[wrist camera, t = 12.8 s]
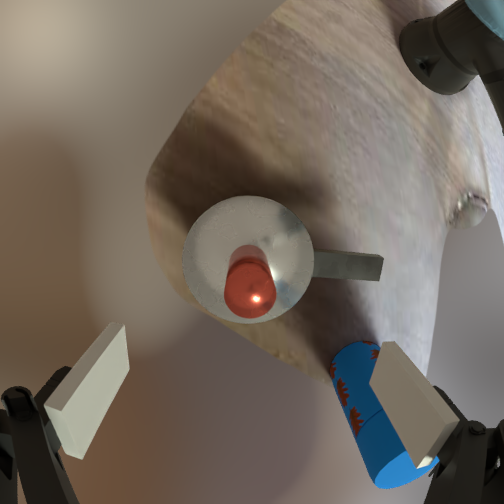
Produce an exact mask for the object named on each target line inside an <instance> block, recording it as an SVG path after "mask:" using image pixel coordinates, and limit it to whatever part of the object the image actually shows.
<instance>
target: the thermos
mask: <svg viewBox="0 0 504 504" xmlns="http://www.w3.org/2000/svg"><path fill="white" fill-rule="evenodd" d="M379 352H380V348H379V347H378V346H377V345H376V344H374V343H372V342H367V341H360V342H355V343H352V344H350V345H348V346H346V347H344V348H343V349H342V350H341V351H340V352H339V353H338V354H337V355H336V356H335V358H334V359H333V361H332V363H331V367H330V375H331V379H332V382H333V385H334V388H335V391H336V394H337V396H338V399H339V401H340V403H341V406H342V408H343V411H344V413H345V416H346V418H347V420H348V423H349V425H350V428H351V430H352V433H353V435H354V438H355V440H356V443H357V445H358V448H359V450H360V453H361V455H362V458H363V460H364V463H365V465H366V468H367V470H368V473H369V476H370V477H371V479H372V481H373V483H374V484H375V485H376V486H377V487H378V488H383V489H389V488H394V487H399V486H401V485H404V484H407V483H409V482H411V481H413V480H415V479H416V478H419V477H420V476H422V475H423V474H425V473H426V472H427V471H429V470H430V469H431V468H433V466H435V464H437V463H438V462H439V461H440V460H439V459H438V457H437V456H436V457H435V458H434V460H433V461H432V463H431V464H430V465H427V466H424V467H421V468H417V469H416V467H415V465H414V464H413V462H412V460H411V458H410V456H409V454H408V452H407V450H406V449H405V447H404V445H403V443H402V441H401V439H400V438H399V436H398V434H397V432H396V430H395V428H394V427H393V425H392V423H391V421H390V419H389V418H388V416H387V414H386V412H385V411H384V409H383V407H382V405H381V403H380V402H379V400H378V398H377V396H376V395H375V393H374V391H373V389H372V388H371V386H370V384H369V382H370V379H371V376H372V373H373V370H374V367H375V364H376V361H377V358H378V355H379Z"/></svg>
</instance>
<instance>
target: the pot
mask: <svg viewBox="0 0 504 504" xmlns="http://www.w3.org/2000/svg"><path fill="white" fill-rule="evenodd" d="M313 251H314V268H313V273H312V277H323V278H338V279H352V280H368V281H379V280H380V275H381V270H382V265H383V260H384V258H383V257H382V256H380V255H376V254H366V253H355V252H345V251H334V250H324V249H313Z"/></svg>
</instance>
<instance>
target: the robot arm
mask: <svg viewBox="0 0 504 504" xmlns="http://www.w3.org/2000/svg"><path fill="white" fill-rule="evenodd" d="M400 49H401V53H402V55H403V58H404V60H405V62H406V64H407V66H408V67H409V69H410V70H411V72H412V73H413V74H414V75H415V77H416V78H417V79H418V80H419V81H420V82H421V83H422V84H424V85H425V86H426V87H427V88H429V89H430V90H432V91H434V92H436V93H439V94H443V95H452V94H455V93H458V92H460V91H462V90H464V89H465V88H466V87H467V85H468V84H469V82H470V81H471V80H473V79H474V78H475V76H476V75H479V76H480V77H481V80H482V82H483V84H484V86H485V88H486V90H487V92H488V95H489V97H490V99H491V101H492V104H493V106H494V108H495V111H496V113H497V116H498V118H499V121H500V124H501V126H502V132H503V136H504V0H457V1H456V2H454V3H453V4H451V5H450V6H449V7H447V8H446V9H445V10H443V11H442V12H441V13H439V14H438V15H436V16H433V17H427V18H424V19H417V20H414V21H412V22H410V23H409V24H408V25H407V26H406V27H404V29H403V30H402V32H401V34H400ZM128 371H129V361H128V354H127V344H126V335H125V325H124V324H119V323H113V322H111V323H110V324H109V325H108V326H107V327H106V328H105V330H104V331H103V332H102V333H101V334H100V335H99V337H98V338H97V339H96V340H95V341H94V342H93V344H92V345H91V346H90V347H89V349H88V350H87V351H86V352H85V353H84V354H83V356H82V357H81V358H80V359H79V361H78V362H77V363H76V364H75V365H74V367H73V368H71V367H67V366H64V367H63V368H61V369H59V370H57V371H56V372H55V373H54V374H53V375H52V377H51V378H50V379H49V380H48V381H47V382H46V385H44V386H43V387H42V389H41V390H40V391H39V392H38V393H37V394H36V396H35V397H34V398H33V396H32V394H31V392H30V391H29V390H28V389H27V388H24V387H22V386H15V387H11V388H9V389H7V390H6V391H4V393H3V394H2V397H1V401H2V403H3V406H4V407H5V410H3V409H0V504H18V501H17V500H18V499H17V472H19V476H20V480H21V484H22V488H23V491H24V495H25V498H26V501H27V504H79V501H78V499H77V497H76V495H75V493H74V490H73V488H72V486H71V483H70V481H69V478H68V476H67V474H66V471H65V468H64V466H63V463H62V460H61V457H60V455H59V453H58V450H59V448H60V446H61V445H62V447H63V449H64V451H65V453H66V454H68V455H71V456H74V457H76V458H79V459H83V457H84V455H85V453H86V451H87V449H88V447H89V445H90V443H91V441H92V439H93V437H94V435H95V433H96V431H97V429H98V427H99V425H100V423H101V421H102V419H103V418H104V416H105V414H106V412H107V410H108V408H109V406H110V404H111V402H112V400H113V398H114V397H115V395H116V393H117V391H118V389H119V387H120V385H121V384H122V382H123V380H124V378H125V376H126V375H127V373H128ZM369 384H370V386H371V388H372V389H373V391H374V393H375V395H376V396H377V398H378V400H379V402H380V403H381V405H382V407H383V409H384V411H385V412H386V414H387V416H388V418H389V419H390V421H391V423H392V425H393V427H394V428H395V430H396V432H397V434H398V436H399V438H400V439H401V441H402V443H403V445H404V447H405V449H406V450H407V452H408V454H409V456H410V458H411V460H412V462H413V464H414V465H415V467H416V469H417V468H421V467H424V466H427V465H430V464H431V463H432V461H433V460H434V458H435V457H436V456H437V457H438V459H439V460H440V461H439V462H438V463H437V465H436V466H435V467H434V469H433V470H432V471H431V472H430V474H429V477H430V476H431V475H432V474H433V473H434V474H433V478H432V481H431V484H430V487H429V490H428V493H427V496H426V499H425V501H424V504H504V419H503V420H501V421H500V423H499V424H498V426H497V427H496V428H486V427H485V426H484V425H483V424H482V423H480V422H478V421H473V420H471V421H468V420H467V419H466V418H465V417H464V415H463V414H462V413H461V412H460V410H459V409H458V408H457V407H456V405H455V404H453V402H452V401H451V399H449V397H448V396H447V395H446V393H445V392H444V391H443V390H441V389H440V388H438V387H437V386H432V385H431V384H430V382H429V381H428V380H427V379H426V378H425V376H424V375H423V374H422V373H421V372H420V370H419V369H418V368H417V367H416V366H415V365H414V363H413V362H412V361H411V360H410V359H409V357H408V356H407V355H406V354H405V353H404V352H403V350H402V349H401V348H400V347H399V346H398V345H397V344H396V342H395V341H393V342H383V343H382V346H381V349H380V352H379V355H378V358H377V361H376V364H375V367H374V370H373V373H372V376H371V379H370V382H369ZM499 460H500V466H499V467H497V463H498V461H499Z"/></svg>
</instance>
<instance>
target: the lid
mask: <svg viewBox="0 0 504 504" xmlns="http://www.w3.org/2000/svg"><path fill="white" fill-rule="evenodd" d="M182 266H183V272H184V277H185V280H186V283H187V285H188V287H189V289H190V291H191V292H192V294H193V296H194V297H195V298H196V299H197V301H198V302H199V303H200V304H201V305H202V306H203V307H204V308H205V309H207V310H208V311H210V312H211V313H212V314H214V315H216V316H218V317H220V318H222V319H225V320H228V321H232V322H236V323H260V322H264V321H268V320H271V319H273V318H276V317H278V316H280V315H282V314H283V313H285V312H286V311H288V310H289V309H290V308H292V307H293V306H294V305H295V304H296V303H297V302H298V301H299V299H300V298H301V297H302V296H303V294H304V293H305V291H306V289H307V287H308V285H309V283H310V280H311V277H312V273H313V268H314V251H313V246H312V242H311V239H310V236H309V234H308V232H307V230H306V228H305V226H304V225H303V224H302V222H301V221H300V220H299V218H298V217H297V216H296V215H295V214H294V213H293V212H291V211H290V210H289V209H288V208H286V207H285V206H283V205H281V204H280V203H278V202H276V201H273V200H271V199H268V198H265V197H260V196H252V195H244V196H236V197H232V198H228V199H225V200H223V201H220V202H219V203H217V204H215V205H213V206H212V207H210V208H209V209H208V210H207V211H205V212H204V213H203V214H202V215H201V216H200V217H199V218H198V219H197V220H196V222H195V223H194V224H193V226H192V227H191V229H190V231H189V233H188V235H187V238H186V240H185V243H184V248H183V255H182Z"/></svg>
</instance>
